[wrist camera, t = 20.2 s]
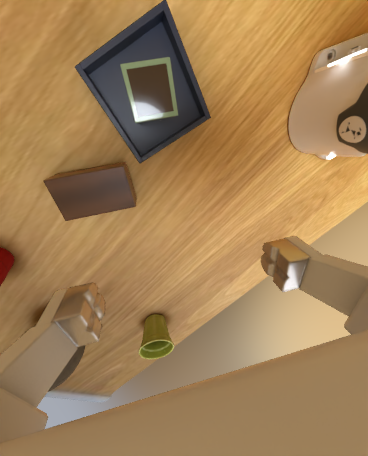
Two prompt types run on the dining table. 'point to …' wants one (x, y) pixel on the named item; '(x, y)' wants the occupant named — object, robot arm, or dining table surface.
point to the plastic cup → (5, 263)
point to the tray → (117, 93)
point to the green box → (150, 89)
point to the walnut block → (92, 191)
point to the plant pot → (155, 338)
